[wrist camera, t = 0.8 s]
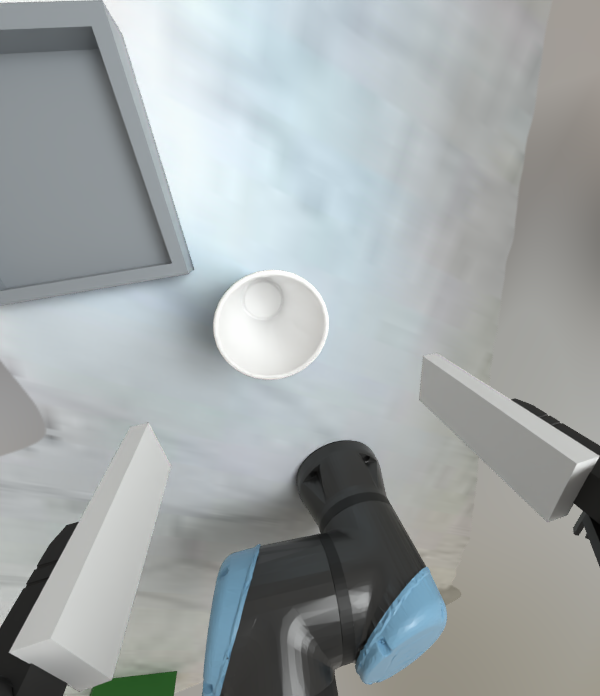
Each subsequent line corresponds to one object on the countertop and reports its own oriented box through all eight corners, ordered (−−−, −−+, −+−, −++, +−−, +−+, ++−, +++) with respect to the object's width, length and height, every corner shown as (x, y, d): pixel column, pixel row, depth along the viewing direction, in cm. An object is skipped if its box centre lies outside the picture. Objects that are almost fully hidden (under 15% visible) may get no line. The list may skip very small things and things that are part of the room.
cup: (285, 345, 35) (304, 390, 25) (211, 324, 32) (199, 366, 22) (313, 275, 32) (347, 294, 22) (234, 243, 29) (232, 249, 19)
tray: (194, 269, 29) (188, 273, 26) (8, 300, 26) (-23, 309, 23) (122, 34, 21) (101, 0, 18) (-155, 46, 18) (-236, 9, 15)
